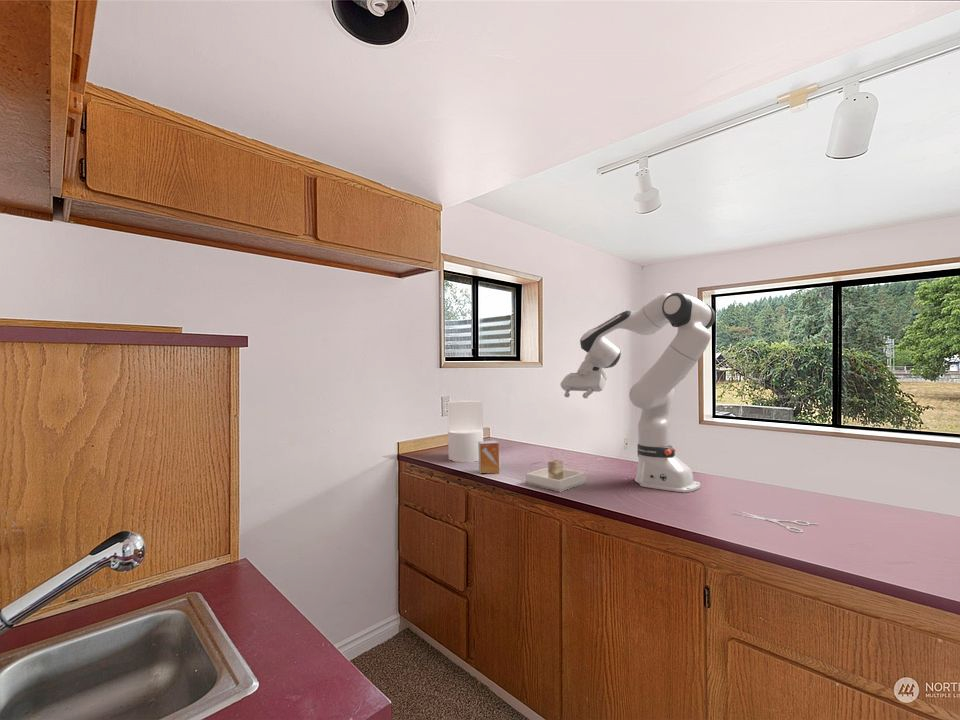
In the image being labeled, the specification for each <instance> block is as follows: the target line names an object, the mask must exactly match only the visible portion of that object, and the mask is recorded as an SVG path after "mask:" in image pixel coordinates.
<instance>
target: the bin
mask: <svg viewBox="0 0 960 720" xmlns="http://www.w3.org/2000/svg"><path fill="white" fill-rule="evenodd" d="M586 476H587V475H586V472H583V471H577V470H572V469H568V468H564V467H563V479H561V480H556V479H552V478H548V467H545V468H541V469H537V470H533V471H531V472H526V473H525V484H526V485H529V486H532V485H533V487H536V486H537V487H536V488H541V489H544V488H545V490H548V489H551V490H550V491H552V490H555V491H554V492H556V491H559V492H558V493H561V492H560V491H562V492H564V491H563V490H565V491H568V490H570V488H571V489H574V488H576V486H577V487H579V485H580V486H582V485H585V484H587V483H586V481H587V477H586ZM573 487H574V488H573ZM567 489H568V490H567Z"/></svg>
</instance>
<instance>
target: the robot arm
mask: <svg viewBox="0 0 960 720" xmlns="http://www.w3.org/2000/svg"><path fill="white" fill-rule="evenodd" d="M715 321H716V312H715V310H714V308H712V306H711V305H709V304H708V303H705V302H704V301H702V300H700V299H699V298H697V297H695V296H692V295H689V294H687V293H683V292H673V293H669V292H664V293H661V294H660V295H658V296H656V297H655V298H654V299H652V300H650V301H648V303H646V304H645V305H644V306H642V307H641V308H639V309H636V310H625V311H622V312H621V313H619V314H617V315H615V316H613V317H611V318H610V319H608V320H606V321H604V322H602V323H601V324H600V325H598V326H596V327H594V328H592V329H589V330H587V331H586V332H584V333H583V334H582V336H581V337H580V339H579V344H580V349H581V350H583V351H584V352H586V355H585V357H584V360H583V361H582V362H581V364H580V365H579V367H578V369H577V371H576V372H570V373H568V374H566V375H565V376H564V378H563V379H562V381H561V382H560V384H559V385H560V387H561V389H562V390H563V391H564V392H565V393H563V394H564V397H565V398H570V396H571V394H570V392H571V391H573V392H574V391H575V392H577V391H578V392H583V393H582V398H584V399H588V397H589V396H590V395H591V394H593V393H594V392H595V393H596V392H598V393H600V392H601V391H603V390H604V389H605V386H606V382H607V380H608V376H607V374H606V372H605V370H604V369H608V368H613V367H615V366H616V365H617V364H618V362H619V360H620V359H621V350H620V348H619V347H618V346H617V345H615V344H614V343H613V342H611V341H610V340H609V339H608V338H606V337H605V336H607V335H608V334H610V333H611V332H613V331H615V330H618V329H619V330H620V329H623V330H628V331H631V332H633V333H636V334H638V335H640V336H641V335H642V336H651V335H653V334H656V333H657V332H659V331H660V330H661V329H663V328H664V327H665V326H666V325H667V324H670V325H671V327H673V328H677V332H676V335H675V337H674V338H673V339H672V341H671V342H670V343H669V344H668V346H667V347H666V349H665V350H664V351H663V353H662V354H661V355H660V357H659V358H658V359H657V361H656V362H655V363H654V364H653V365H652V366H651V367H650V368H648V370H647V371H646V372H645V373H644V374H643V375H642V376H641V378H640V379H639V380H638V381H637V382H635V384H633V385H632V386H631V387H630V389H629V394H628V397H629V401H630V402H631V403H632V405H633V406H634V407H637V408H638V409H641V413H640V414H641V415H640V417H639V419H638V423H637V429H638V430H637V431H638V432H637V434H638V435H637V436H638V443H637V458H638V463H637V469H636V470H637V471H636V475H635V478H634V481H635V482H636V483H637V484H639V486H640V487H643V488H650V489H656V490H662V491H669V492H670V491H671V492H677V493H691V492H694V491H697V490H699V489H700V488H701V483H700V482H699V481H696V480H694V475H693V474H694V473H693V471H692V469H691V467H690V466H688V465H687V464H686V463H684V462H683V461H682V460H681V459H679V458H678V457H677V456H676V452H677V451H678V450H677V447H673V446H672V445H671V443H670V441H671V440H670V439H671V438H670V421H671V415H672V414H671V413H672V408H673V407H672V406H673V402H674V401H673V400H674V397H675V392H676V391H675V387H676V386H677V385H678V384H679V383H680V382H681V381H683V380H684V379H685V378H686V377H687V375H688V374H689V373H690V372H691V370H692V369H693V367H694V366H695V365H696V364H697V362H698V361H699V360H700V358H701V357H702V355H703V354H704V352H705V350H706V349H707V348H708V345H709V343H710V341H711V337H712V336H711V333H710V331H709V329H710V328H711V327H712V326H713V324H714V323H715Z"/></svg>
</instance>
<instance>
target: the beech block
mask: <svg viewBox="0 0 960 720" xmlns="http://www.w3.org/2000/svg"><path fill="white" fill-rule="evenodd" d="M547 468H548V478H552V479H556V480H561V479H563V468H564V461H562V460H557V459H553V460H549V461H547Z"/></svg>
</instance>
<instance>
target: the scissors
mask: <svg viewBox="0 0 960 720" xmlns="http://www.w3.org/2000/svg"><path fill="white" fill-rule="evenodd" d="M735 511H737V512H739V513H742V514H740V516H741V517H745V518H751V519H756V520H762V521H767V522H771V523H774V524H776V525H778V526H781V527H784V528H785V529H787V530H788V531H789V532H792V533H793V532H794V533H797V534H803V533H804V531H803V530H802V529H800V528H797V527H793V526H787V525H784V524H782V523H792V524H795V525H798V526H806V527H807V526H811V525H813V526H819V523H813V522H808V521H806V520H805V521H804V520H797V519H796V520H782V519H775V518H767V517H766V518H765V517H763V516H762V517H761V516H758V515H755V514H751V513H748V512H744V511H741V510H737V509H736V510H735ZM731 514H732V515H733V513H731ZM744 514H745V515H744ZM735 515H736V516H739V514H738V513H735ZM748 515H749V516H748ZM802 522H803V523H802ZM810 524H811V525H810Z"/></svg>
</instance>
